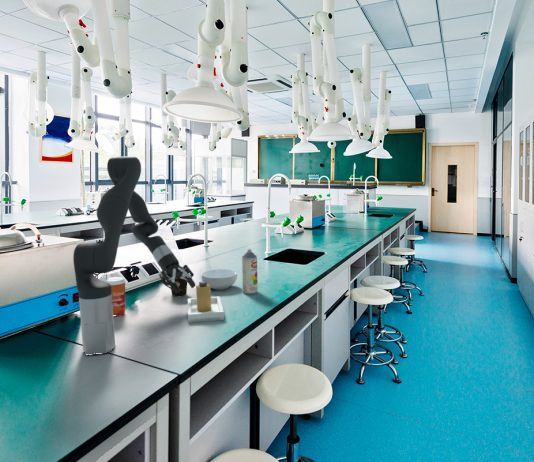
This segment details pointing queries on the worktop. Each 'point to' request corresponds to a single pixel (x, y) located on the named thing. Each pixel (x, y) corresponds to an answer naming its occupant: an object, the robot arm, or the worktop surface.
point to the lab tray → (211, 315)
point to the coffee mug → (182, 286)
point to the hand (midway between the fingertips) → (186, 289)
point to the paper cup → (117, 294)
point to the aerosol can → (249, 273)
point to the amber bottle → (203, 297)
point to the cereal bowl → (219, 278)
